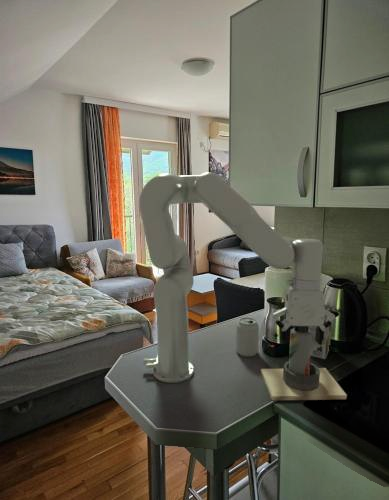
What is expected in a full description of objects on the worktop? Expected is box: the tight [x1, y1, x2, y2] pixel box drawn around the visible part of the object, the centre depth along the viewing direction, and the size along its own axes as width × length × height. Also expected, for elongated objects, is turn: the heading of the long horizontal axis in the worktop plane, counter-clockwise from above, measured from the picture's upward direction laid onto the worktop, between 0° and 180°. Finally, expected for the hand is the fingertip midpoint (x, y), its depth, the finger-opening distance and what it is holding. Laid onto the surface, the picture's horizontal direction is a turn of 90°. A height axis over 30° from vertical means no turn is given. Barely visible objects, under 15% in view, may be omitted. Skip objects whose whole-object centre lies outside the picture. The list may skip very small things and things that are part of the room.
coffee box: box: [309, 303, 333, 360], centre depth 113 cm, size 9×6×16 cm
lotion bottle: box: [288, 326, 312, 376], centre depth 93 cm, size 6×6×20 cm
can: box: [235, 316, 260, 358], centre depth 113 cm, size 8×8×12 cm
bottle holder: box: [260, 360, 348, 401], centre depth 94 cm, size 20×14×5 cm
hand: (301, 342), depth 93 cm, fingers open, 9 cm apart
